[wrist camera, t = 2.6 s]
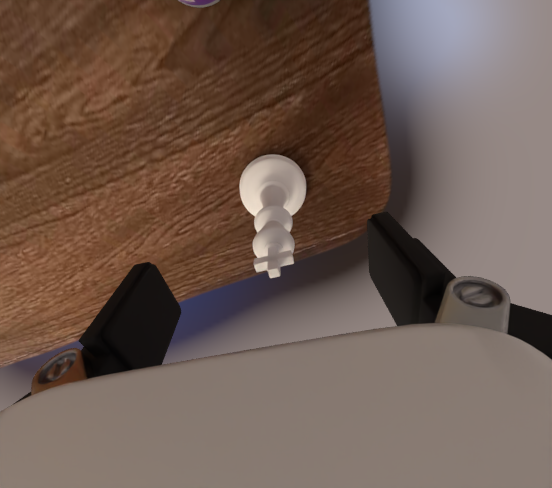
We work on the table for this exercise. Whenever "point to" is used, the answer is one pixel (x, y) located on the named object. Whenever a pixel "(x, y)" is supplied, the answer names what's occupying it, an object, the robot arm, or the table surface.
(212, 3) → the container
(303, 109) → the table surface
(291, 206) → the chess piece
